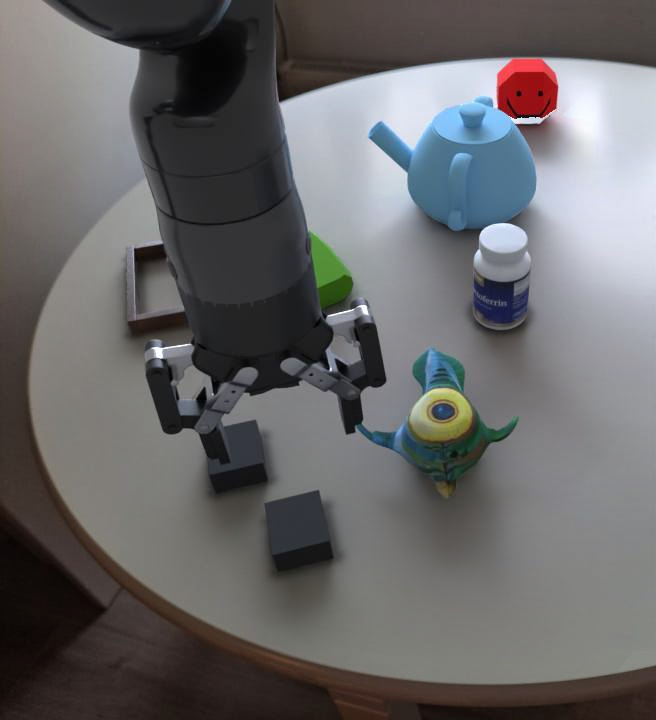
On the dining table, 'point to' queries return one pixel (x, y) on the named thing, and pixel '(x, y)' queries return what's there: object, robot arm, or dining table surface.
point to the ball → (527, 89)
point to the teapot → (465, 165)
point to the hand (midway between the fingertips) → (287, 439)
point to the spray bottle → (329, 273)
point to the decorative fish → (441, 424)
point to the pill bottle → (501, 277)
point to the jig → (134, 318)
